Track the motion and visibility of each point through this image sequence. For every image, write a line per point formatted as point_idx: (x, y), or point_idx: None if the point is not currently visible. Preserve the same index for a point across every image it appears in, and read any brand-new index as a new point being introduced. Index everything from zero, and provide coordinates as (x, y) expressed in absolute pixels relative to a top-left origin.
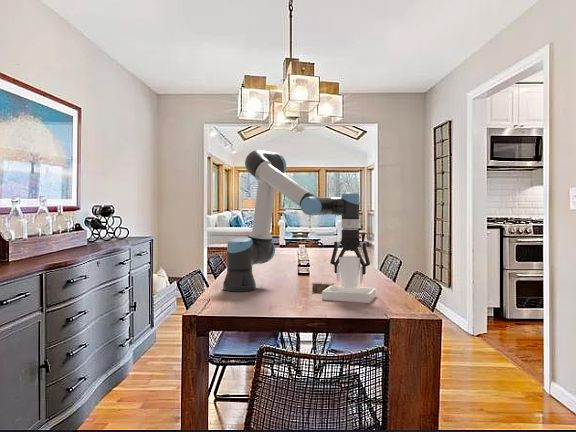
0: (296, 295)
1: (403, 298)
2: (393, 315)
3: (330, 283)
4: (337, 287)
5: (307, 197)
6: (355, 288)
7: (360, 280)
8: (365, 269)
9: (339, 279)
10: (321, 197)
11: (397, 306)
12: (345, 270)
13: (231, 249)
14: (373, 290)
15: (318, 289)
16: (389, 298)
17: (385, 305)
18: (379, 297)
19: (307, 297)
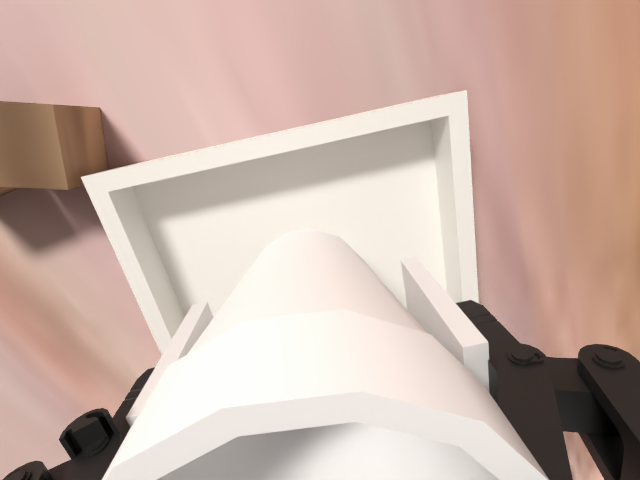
0: (8, 357)
1: (635, 62)
2: (595, 466)
3: (31, 128)
4: (152, 180)
5: None
6: (299, 147)
7: (415, 318)
8: (507, 340)
9: (208, 317)
10: None
11: (604, 317)
12: (308, 470)
13: None
14: (472, 207)
15: (4, 190)
16: (542, 121)
17: (544, 327)
18: (472, 125)
19: (101, 369)
